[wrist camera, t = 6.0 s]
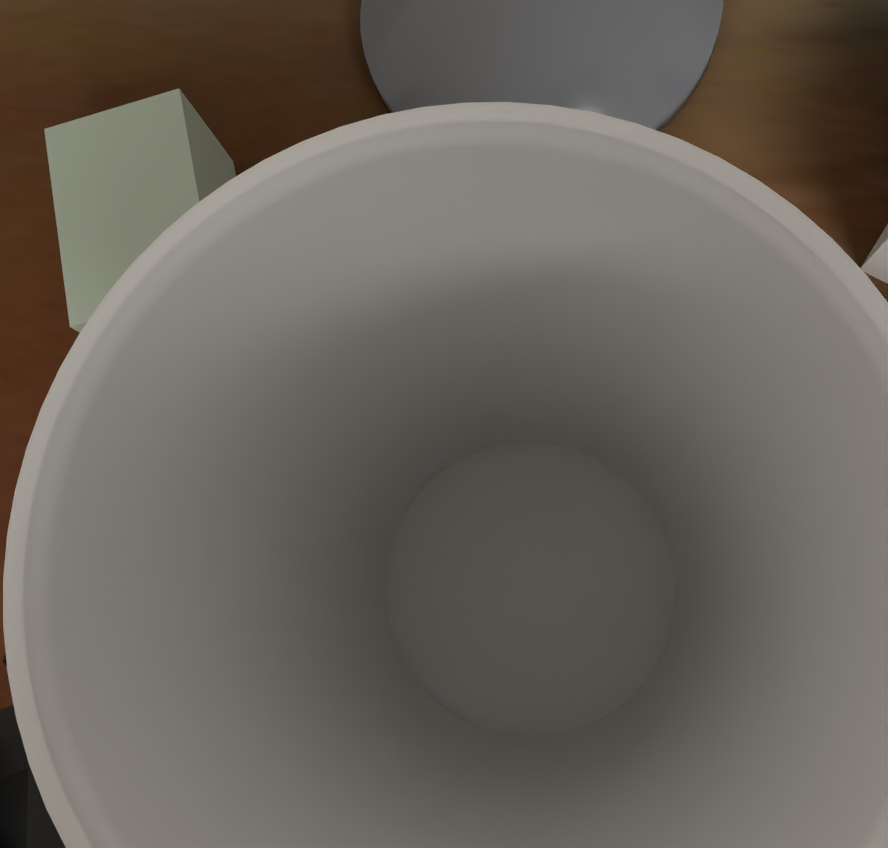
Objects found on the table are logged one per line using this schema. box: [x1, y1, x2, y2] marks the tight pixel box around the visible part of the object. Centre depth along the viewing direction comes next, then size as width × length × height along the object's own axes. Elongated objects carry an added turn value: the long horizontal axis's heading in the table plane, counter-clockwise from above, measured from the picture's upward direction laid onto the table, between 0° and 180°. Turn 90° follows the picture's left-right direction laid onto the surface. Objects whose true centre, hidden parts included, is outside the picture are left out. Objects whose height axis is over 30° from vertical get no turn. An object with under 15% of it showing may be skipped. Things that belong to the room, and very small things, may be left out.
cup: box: [3, 102, 888, 848], centre depth 15 cm, size 8×8×16 cm
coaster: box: [360, 0, 723, 131], centre depth 26 cm, size 11×11×1 cm
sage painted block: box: [44, 89, 236, 332], centre depth 24 cm, size 4×6×4 cm, turn 13°
